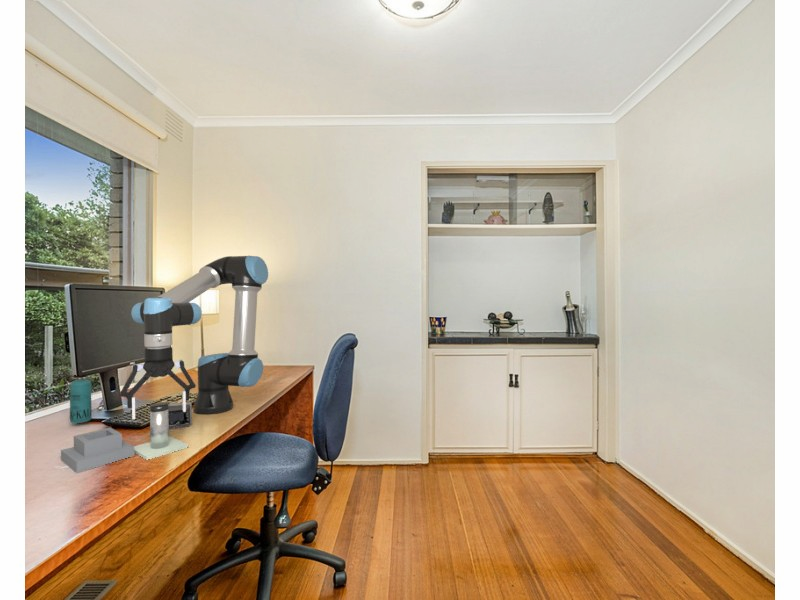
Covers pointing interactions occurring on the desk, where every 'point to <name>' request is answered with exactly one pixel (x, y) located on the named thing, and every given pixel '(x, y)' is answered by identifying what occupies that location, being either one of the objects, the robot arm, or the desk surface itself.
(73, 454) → the socket block
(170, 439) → the sage board
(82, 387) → the beverage bottle
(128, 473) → the desk surface
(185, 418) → the electrical switch
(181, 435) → the desk surface
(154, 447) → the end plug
